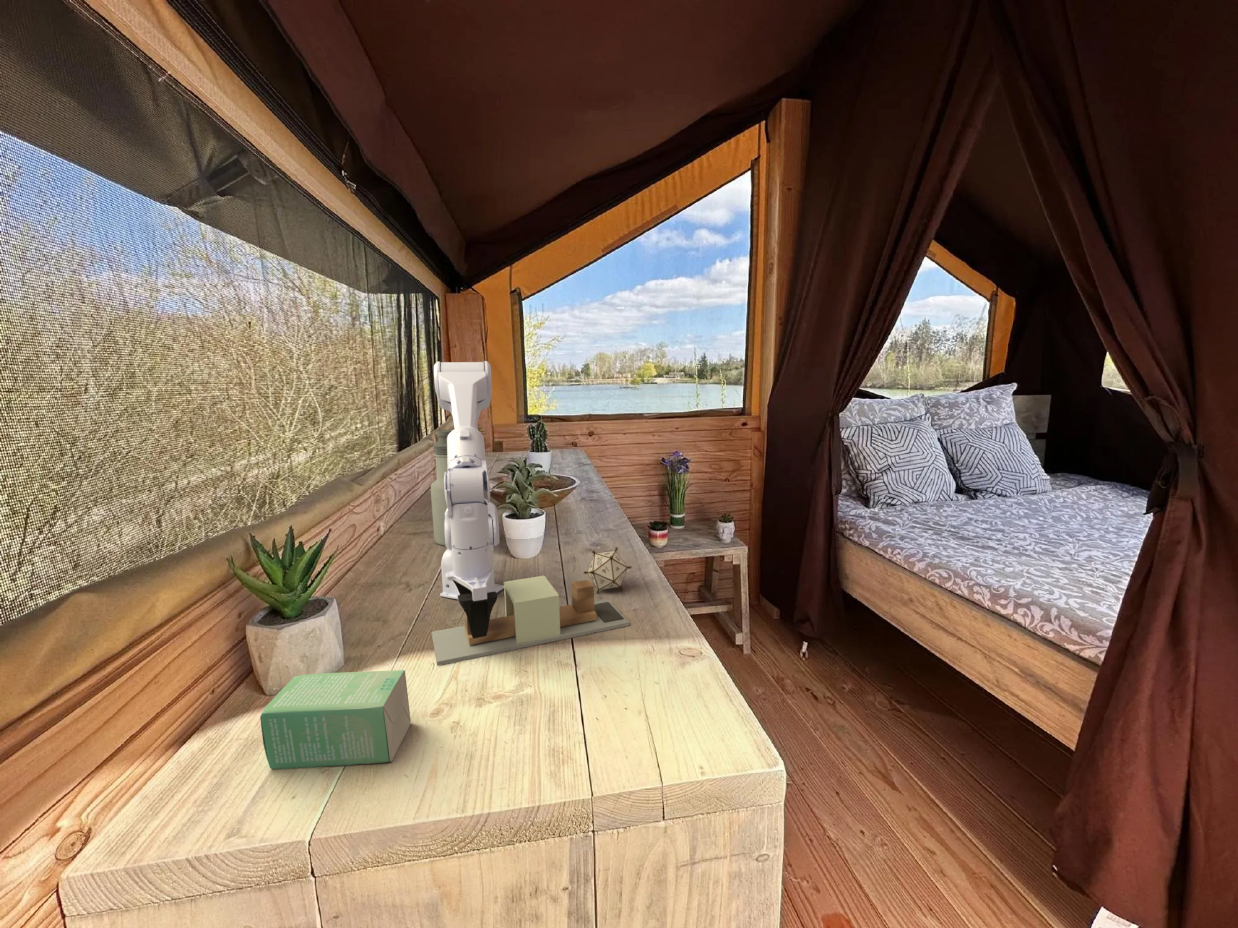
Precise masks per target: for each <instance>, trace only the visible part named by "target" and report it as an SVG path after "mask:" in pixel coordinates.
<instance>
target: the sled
mask: <svg viewBox="0 0 1238 928" xmlns="http://www.w3.org/2000/svg"><path fill="white" fill-rule="evenodd" d="M594 602H595V584H594V583H592V582H591V581H590V580H589V579H584V580H578V581H572V582H571V604H566V605H561V606H560V605H559V608H560V627H563V626H568V625H573V624H578V623H583V622H588V621H593V620H597V613H596V612H595V610H594ZM513 606H514V604H513ZM463 611H464V610H463ZM463 613H464V626H465V632H466V636H467V639H468V643H469V645H473V644H478V643H483V642H488V641H493V640H498V639H503V638H508V637H513V636H516V635H515V613H514V615H511V616H506V615H505V616H501V617H496V618H495V617H494V618H490V620H489V627H488V632H487V636H484V637H479V638H473V637H472V635H471V632H470V628H469V624H468V619H467V615H466V613H465V611H464V612H463Z"/></svg>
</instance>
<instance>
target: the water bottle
mask: <svg viewBox="0 0 1238 928" xmlns="http://www.w3.org/2000/svg"><path fill="white" fill-rule="evenodd" d="M453 430H454V429H448V428H447V429H440V430H436V436H437V437H438V440H437V441H435V442H434V443H433V456H434V457H435V470H436V480H434V481H433V482H432V483H431V485H430V501H431V513H432V515H431V516H432V524H433V526H432V528H433V540H434V542H435V543H436V544H437V545H440V546H444V547H446V543H445V511H446V509H447V503H446V500H445V491H444V474H445V472H446V474H447V437H448V435H449V433H450V432H451V431H453Z"/></svg>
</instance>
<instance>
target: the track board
mask: <svg viewBox="0 0 1238 928" xmlns="http://www.w3.org/2000/svg"><path fill="white" fill-rule="evenodd" d="M605 602H609V603H610V604H611V605H612V606H613V607H614V608H615V609H616V611H617V612H618V613H619V614H620V615H621V616H622V617H623V619H621V620H616V621H611V622H606V623H604V622H603V621H602V620H601V618H600V617H599V616H598V615H597V620H593V621H588V622H583V623H578V624H573V625H568V626H563V627H560V635H558V636H553V637H548V638H543V639H538V640H533V641H528V642H523V643H518V644H517V642H516V636H513V637H508V638H503V639H498V640H493V641H488V642H483V643H478V644H473V645H469V643H468V639H467V636H466V632H465V625H462V626H455V627H451V628H446V629H445V628H444V629H439V630H435V631H431V639H432V643H433V644H432V645H433V650H434V655H435V663H436V666H441V665H447V664H451V663H452V664H453V663H456V662H460V661H465V660H470V659H471V660H472V659H475V658H481V657H486V656H490V655H495V654H500V653H504V652H509V651H515V650H517V649H518V650H519V649H520V650H521V649H523V648H529V647H534V646H538V645H543V644H548V643H553V642H556V641H562V640H566V639H567V640H569V639H571V638H577V637H582V636H586V634H587V635H591V633H592V634H595V633H594V632H596V633H600V632H605V631H610V629H611V630H615V628H616V629H620V628H624V626H625V627H630V626H629V625H630V624H631V623H630V621H629V620H628V619H627V618H626V617H625V615H624V614H622V612H621V611H620V610H619V609H618V608H617V607H616V606H615V605H614V604H613V603H612V602H611V601H610V600H609V599H601V600H596V601H595V600H594V604H599V603H605Z"/></svg>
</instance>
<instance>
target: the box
mask: <svg viewBox="0 0 1238 928" xmlns="http://www.w3.org/2000/svg"><path fill="white" fill-rule="evenodd" d="M259 717H260V726H261V736H262V743H263V748H264V753H265V756H266V759H267V764H268V766H269V768H270V769H272V770H287V769H288V770H290V769H308V768H310V769H312V768H327V767H329V768H330V767H343V766H344V767H345V766H354V765H355V766H356V765H367V764H380V763H388V762H392V761H393V760H394V758H395V757H396V754H397V752H398V751H399V749H400V747H401V745H402V743H403V741H404V739H405V737H406V735H407V732H408V731H409V728H410V726H411V712H410V704H409V693H408V685H407V677H406V670H404V669H399V670H397V669H396V670H375V671H374V670H373V671H352V672H351V671H347V672H346V671H345V672H327V673H326V672H324V673H312V674H311V673H309V674H307V673H306V674H301V675H294V676H293V677H292V678H291V679H290V681H289V682H287V684H286V685H285V686H284V687H283V688H282V689H281V690H280V691H279V692H278V693H277V694H276V695H275V696H274V697H273V698H272V700H271V701H269V703H267V705H266V706H264V707H263V709H262V711H261V714H260V716H259Z"/></svg>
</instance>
